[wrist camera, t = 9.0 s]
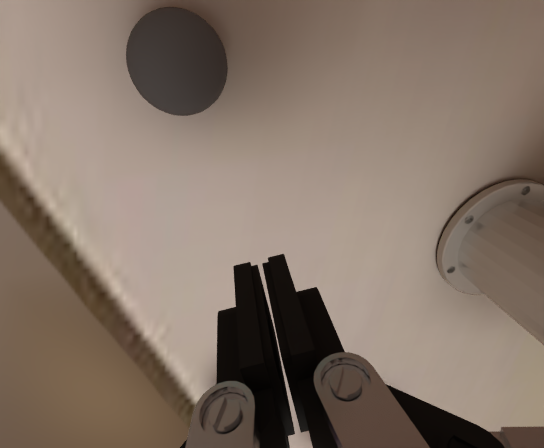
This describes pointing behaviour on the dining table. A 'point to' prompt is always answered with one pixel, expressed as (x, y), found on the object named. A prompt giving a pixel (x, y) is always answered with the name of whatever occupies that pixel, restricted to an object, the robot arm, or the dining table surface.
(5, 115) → the dining table surface
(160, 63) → the gray ball
